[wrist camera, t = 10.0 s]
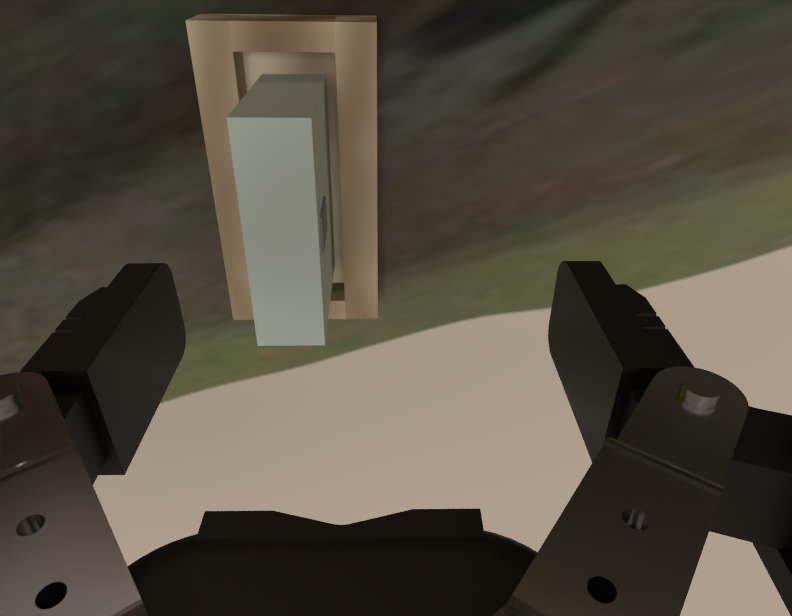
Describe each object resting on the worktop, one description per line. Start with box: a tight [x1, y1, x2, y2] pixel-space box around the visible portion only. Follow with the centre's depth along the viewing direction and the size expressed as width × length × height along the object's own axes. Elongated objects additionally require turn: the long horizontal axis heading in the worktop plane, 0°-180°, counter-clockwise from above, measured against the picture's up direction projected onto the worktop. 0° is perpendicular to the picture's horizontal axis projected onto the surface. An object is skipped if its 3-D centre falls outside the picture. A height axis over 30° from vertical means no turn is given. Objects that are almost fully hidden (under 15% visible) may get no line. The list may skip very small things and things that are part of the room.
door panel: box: [227, 74, 335, 346], centre depth 27 cm, size 3×10×8 cm, turn 179°
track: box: [186, 14, 378, 320], centre depth 30 cm, size 8×15×3 cm, turn 179°
